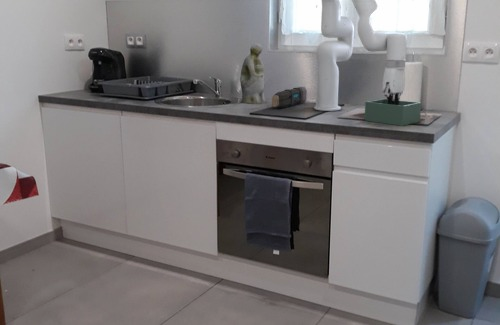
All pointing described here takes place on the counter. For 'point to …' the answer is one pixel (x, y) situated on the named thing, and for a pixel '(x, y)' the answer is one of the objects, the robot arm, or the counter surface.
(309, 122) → the counter surface
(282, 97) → the dark brown log
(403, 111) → the bin
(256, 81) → the sculpture
